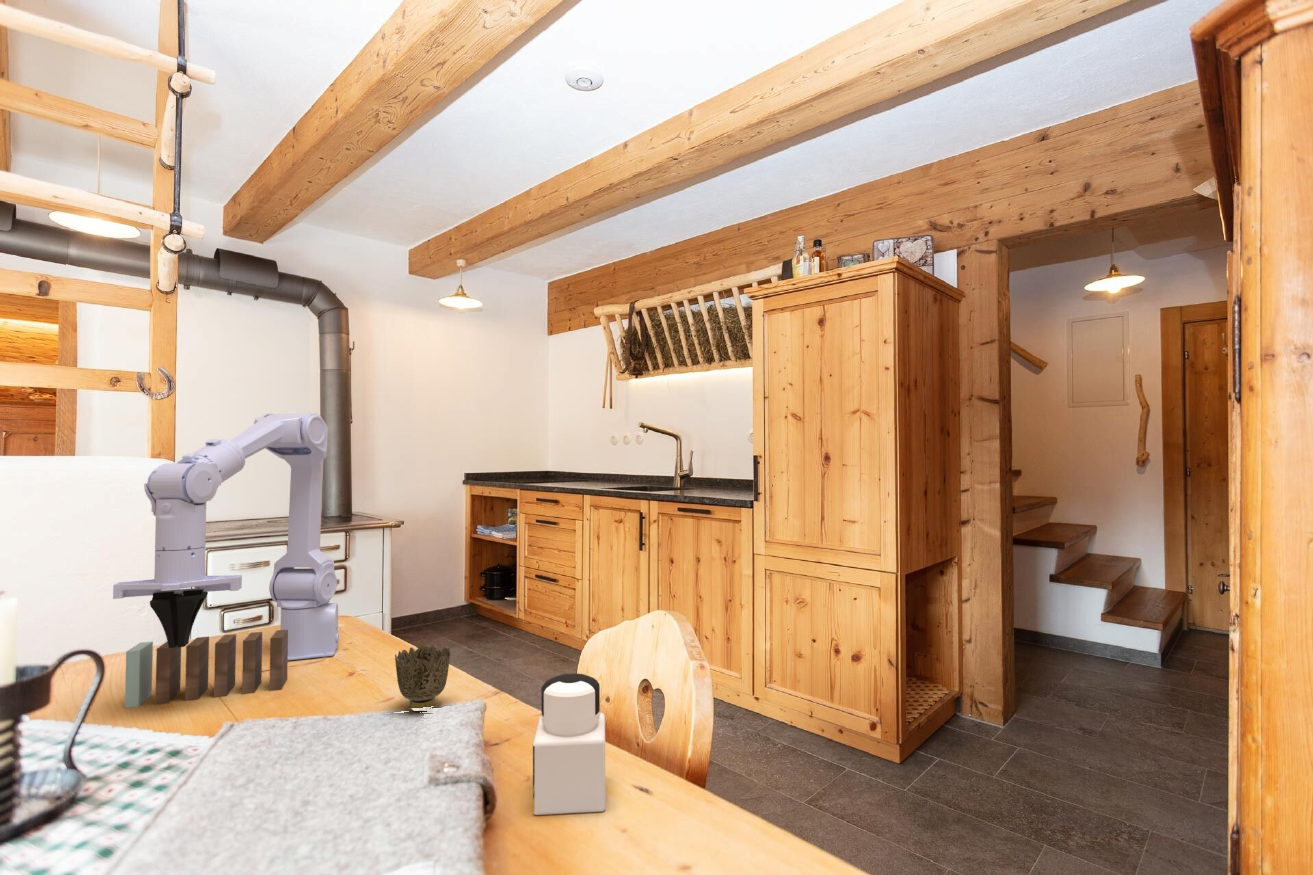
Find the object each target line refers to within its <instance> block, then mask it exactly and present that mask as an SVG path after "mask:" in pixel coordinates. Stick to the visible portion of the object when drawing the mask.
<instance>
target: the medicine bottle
mask: <svg viewBox="0 0 1313 875" xmlns="http://www.w3.org/2000/svg"><path fill="white" fill-rule="evenodd" d="M600 685H601V684H600V683H599V681H598V680H597V679H596V678H594V677H592V676H589V675H586V674H585V673H584V674H583V673H563V674H559V675H556V676H553V677H551V678H549V679H547V680H546V681H545V682H544V683H543V684H542V686H541V702H540V703H541V704H540V705H541V716H539V718H538V723H537V726H536V732H535V736H534V739H533V742H532V813H533V815H535V816H541V815H542V816H544V815H545V816H546V815H563V814H565V815H566V814H579V813H580V814H581V813H582V814H583V813H598V812H599V813H600V812H604V811H605V810H606V804H607V803H606V714H605V713H603V712H601V710H600V709H601V704H600V703H601V702H600V701H601V697H600Z"/></svg>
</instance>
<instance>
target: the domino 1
mask: <svg viewBox="0 0 1313 875" xmlns="http://www.w3.org/2000/svg"><path fill="white" fill-rule="evenodd" d="M153 647H154V641H144V642H139V643H137V644H135V645H133V647H131V648H129V649H128V650H126V652H125V683H124V684H125V687H124V689H125V690H124V709H129V708H130V709H131V708H137V707H140V706H141V705H143V703H145V701H147V700H148V699H149V698H150V697H151V696H152V695H153V690H152V689H153V656H154V655H153V652H154V648H153Z"/></svg>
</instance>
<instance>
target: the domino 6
mask: <svg viewBox="0 0 1313 875" xmlns="http://www.w3.org/2000/svg"><path fill="white" fill-rule="evenodd" d="M269 640H270V642H269V644H270V645H269V692H272V691H274V692H275V691H281V690H282V689H283V688H284V686H285V684H286V683H287V681H288V661H289V660H288V630H280V629H279V630H276V631H275V632H274V633H273V634H272V636H271V637H270V639H269Z"/></svg>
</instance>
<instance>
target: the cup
mask: <svg viewBox="0 0 1313 875" xmlns="http://www.w3.org/2000/svg"><path fill="white" fill-rule="evenodd" d="M451 652H452V649H451V647H448V646H447V645H444V646H443V647H442V649H437V646H436V645H434V644H432V645H431V646H430V647H429V646H428V645H424V644H421V645H419V647H418V648H417V649H415V648H414V647H410V648H409V652H408V651H407V650H405V649H403V650H401V651H400V650H399V651H398V654H396V653H395V655H394V660H395V669H396V678H397V679H396V680H397V684H398V688H399V691H400V694H401V695H402V697H403V698H405V699H406V700H409V701H408V702H409V703H408V707H409V709H410V708H423V707H431V706H435V707H436V704H437V697H438V696H439V695H441V693H442V692H443V691H444V689H445V687H446V684H447V680H448V675H449V668H450V658H451Z"/></svg>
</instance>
